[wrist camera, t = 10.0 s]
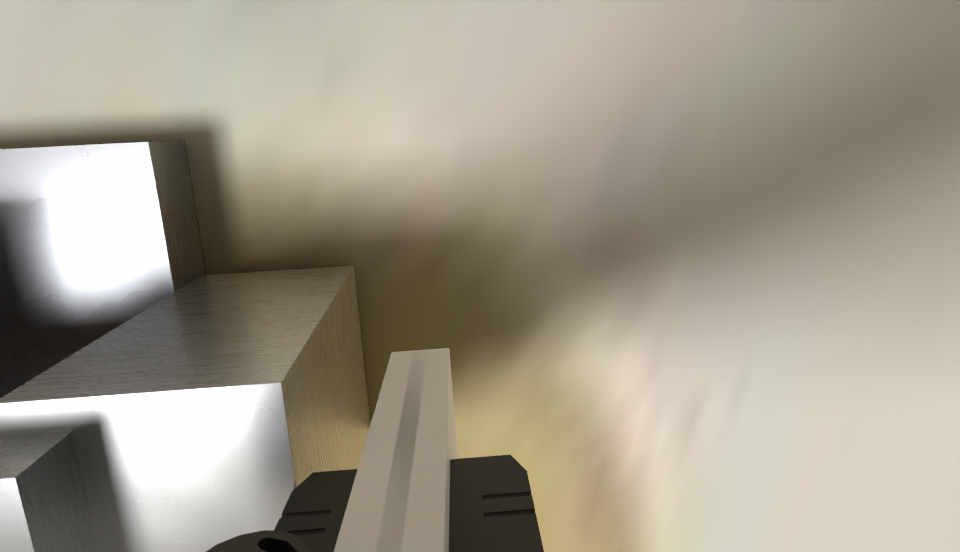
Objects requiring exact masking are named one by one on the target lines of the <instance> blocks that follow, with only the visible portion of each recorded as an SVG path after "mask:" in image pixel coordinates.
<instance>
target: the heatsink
mask: <svg viewBox="0 0 960 552" xmlns="http://www.w3.org/2000/svg"><path fill="white" fill-rule="evenodd" d="M202 275H206V273H205V267H204V260H203V254H202V248H201V242H200V235H199V229H198V223H197V217H196V211H195V204H194V198H193V192H192V186H191V179H190V173H189V167H188V161H187V155H186V148H185V142H184V141H155V142H133V143H113V144H94V145H74V146H55V147H35V148H16V149H0V398H2V397H3V396H5V395H7V394H8V393H10V392H12V391H13V390H15V389H16V388H18V387H20V386H21V385H23V384H25V383H26V382H28V381H30V380H31V379H33V378H35V377H36V376H38V375H39V374H41V373H43V372H44V371H46V370H48V369H49V368H51V367H53V366H54V365H56V364H58V363H59V362H61V361H62V360H64V359H66V358H67V357H69V356H71V355H72V354H74V353H76V352H77V351H79V350H81V349H82V348H84V347H85V346H87V345H89V344H90V343H92V342H94V341H95V340H97V339H99V338H100V337H102V336H104V335H105V334H107V333H108V332H110V331H112V330H113V329H115V328H117V327H118V326H120V325H122V324H123V323H125V322H127V321H128V320H130V319H131V318H133V317H135V316H136V315H138V314H140V313H141V312H143V311H145V310H146V309H148V308H150V307H151V306H153V305H154V304H156V303H158V302H159V301H161V300H163V299H164V298H166V297H168V296H169V295H171V294H173V293H174V292H176V291H177V290H179V289H181V288H182V287H184V286H186V285H187V284H189V283H191V282H192V281H194V280H196V279H197V278H199V277H200V276H202Z"/></svg>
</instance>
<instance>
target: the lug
mask: <svg viewBox="0 0 960 552" xmlns="http://www.w3.org/2000/svg"><path fill="white" fill-rule="evenodd" d="M369 428H370V418H369V408H368V398H367V388H366V378H365V368H364V359H363V349H362V339H361V329H360V319H359V309H358V299H357V290H356V280H355V270H354V265H353V266H338V267H322V268H306V269H291V270H275V271H259V272H243V273H228V274H212V275H202V276H200V277H199V278H197V279H196V280H194V281H192V282H191V283H189V284H187V285H186V286H184V287H182V288H181V289H179V290H177V291H176V292H174V293H173V294H171V295H169V296H168V297H166V298H164V299H163V300H161V301H159V302H158V303H156V304H154V305H153V306H151V307H150V308H148V309H146V310H145V311H143V312H141V313H140V314H138V315H136V316H135V317H133V318H131V319H130V320H128V321H127V322H125V323H123V324H122V325H120V326H118V327H117V328H115V329H113V330H112V331H110V332H108V333H107V334H105V335H104V336H102V337H100V338H99V339H97V340H95V341H94V342H92V343H90V344H89V345H87V346H85V347H84V348H82V349H81V350H79V351H77V352H76V353H74V354H72V355H71V356H69V357H67V358H66V359H64V360H62V361H61V362H59V363H58V364H56V365H54V366H53V367H51V368H49V369H48V370H46V371H44V372H43V373H41V374H39V375H38V376H36V377H35V378H33V379H31V380H30V381H28V382H26V383H25V384H23V385H21V386H20V387H18V388H16V389H15V390H13V391H12V392H10V393H8V394H7V395H5V396H3V397H2V398H0V552H206V551H207V550H209V549H210V548H212V547H213V546H215V545H217V544H219V543H222V542H224V541H226V540H229V539H231V538H234V537H236V536H239V535H242V534H247V533H253V532H258V531H263V530H270V531H274V529H275V527H276V525H277V523H278V521H279V518H282V512H283V510H284V507H285V505H286V503H287V501H288V499H289V496H290V494H291V492H292V491H293V490H294V489H296V487H297V486H298V485H300V484H301V483H302V482H303V481H304V480H305V479H306V478H307V477H308V476H309V475H310V474H312V473H313V472H324V471H337V470H350V469H358V466H359V463H360V459H361V456H362V452H363V449H364V445H365V442H366V439H367V435H368V432H369Z"/></svg>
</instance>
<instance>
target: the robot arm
mask: <svg viewBox="0 0 960 552" xmlns="http://www.w3.org/2000/svg"><path fill="white" fill-rule="evenodd" d="M206 552H544V551H543V546H542V541H541V536H540V532H539V527H538V522H537V518H536V513H535V508H534V503H533V499H532V496H531V489H530V484H529V480H528V475H527V471H526V470H525V469H524V468H523V467H522V466H521V465H520V464H519V463H518V462H517V461H516V460H515V459H514V458H513V457H512V456H511V455H502V456H489V457H476V458H463V459H458V454H457V442H456V429H455V416H454V403H453V390H452V377H451V364H450V351H449V348H441V349H427V350H413V351H400V352H391V356H390V359H389V363H388V366H387V370H386V373H385V376H384V380H383V383H382V387H381V390H380V394H379V397H378V401H377V404H376V408H375V411H374V414H373V418H372V421H371V425H370V428H369V432H368V435H367V439H366V442H365V445H364V449H363V452H362V456H361V459H360V463H359V466H358V469H350V470H337V471H324V472H313V473H312V474H310V475H309V476H308V477H307V478H306V479H305V480H304V481H303V482H302V483H301V484H300V485H298V486H297V487H296V489H294V490H293V491H292V492H291V494H290V496H289V499H288V501H287V503H286V505H285V507H284V510H283V512H282V518H279V521H278V523H277V525H276V527H275V529H274V531H270V530H263V531H258V532H253V533H247V534H242V535H239V536H236V537H234V538H231V539H229V540H226V541H224V542H222V543H219V544H217V545H215V546H213V547H212V548H210V549H209V550H207V551H206Z"/></svg>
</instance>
